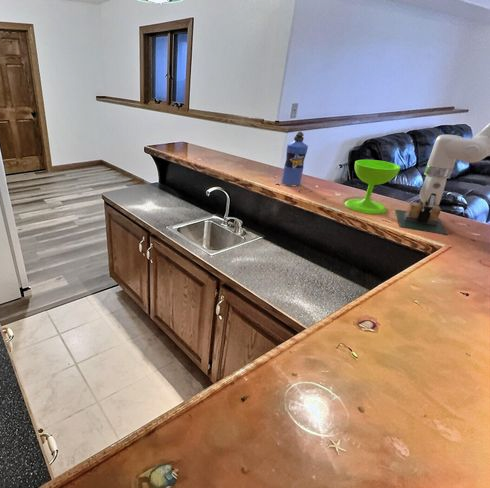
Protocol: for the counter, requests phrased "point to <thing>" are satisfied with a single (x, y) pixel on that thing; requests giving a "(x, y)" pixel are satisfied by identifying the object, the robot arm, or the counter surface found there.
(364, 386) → the counter surface
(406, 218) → the eraser
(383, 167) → the wineglass
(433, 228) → the chalkboard
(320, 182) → the counter surface
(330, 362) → the counter surface
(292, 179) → the water bottle
